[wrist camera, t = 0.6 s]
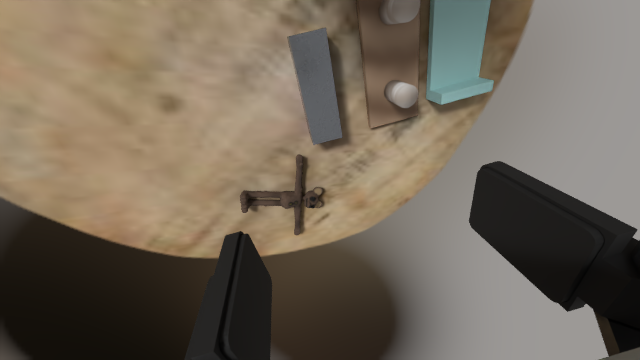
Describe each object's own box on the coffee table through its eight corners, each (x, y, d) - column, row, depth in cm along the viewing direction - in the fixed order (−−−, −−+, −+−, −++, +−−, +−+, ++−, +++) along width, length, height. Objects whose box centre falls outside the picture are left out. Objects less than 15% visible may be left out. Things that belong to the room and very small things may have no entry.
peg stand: (352, -32, 27) (369, -46, 23) (416, -48, 27) (445, -66, 23) (368, 126, 38) (381, 138, 33) (414, 113, 38) (433, 124, 34)
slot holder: (433, -76, 26) (456, -92, 23) (498, -92, 27) (531, -111, 23) (426, 98, 37) (441, 104, 34) (472, 86, 37) (491, 90, 34)
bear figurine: (233, 159, 34) (329, 162, 36) (240, 147, 38) (326, 151, 39) (244, 243, 44) (320, 244, 45) (249, 228, 47) (319, 228, 49)
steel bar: (286, 36, 30) (288, 36, 27) (320, 29, 30) (325, 27, 27) (310, 135, 38) (313, 144, 34) (336, 128, 38) (342, 137, 34)
